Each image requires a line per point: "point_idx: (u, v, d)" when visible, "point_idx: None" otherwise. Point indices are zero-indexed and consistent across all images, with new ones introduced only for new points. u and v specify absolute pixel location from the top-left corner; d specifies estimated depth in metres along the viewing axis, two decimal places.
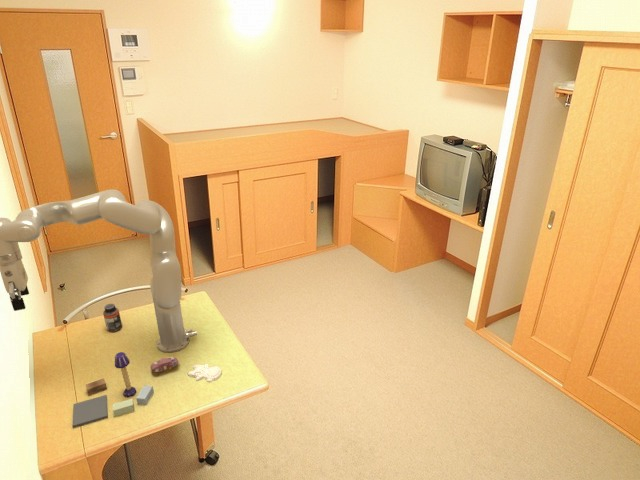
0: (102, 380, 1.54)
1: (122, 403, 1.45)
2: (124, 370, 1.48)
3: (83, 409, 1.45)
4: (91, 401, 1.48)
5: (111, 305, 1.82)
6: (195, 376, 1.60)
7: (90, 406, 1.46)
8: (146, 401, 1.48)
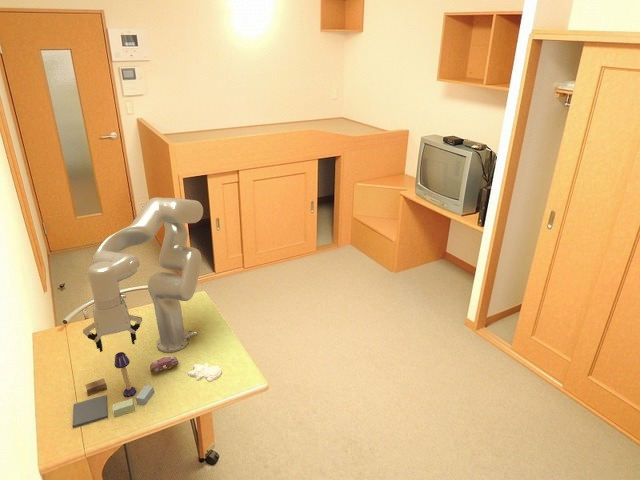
0: (102, 380, 1.54)
1: (122, 403, 1.45)
2: (124, 370, 1.48)
3: (83, 409, 1.45)
4: (91, 401, 1.48)
5: None
6: (195, 376, 1.60)
7: (90, 406, 1.46)
8: (145, 401, 1.48)
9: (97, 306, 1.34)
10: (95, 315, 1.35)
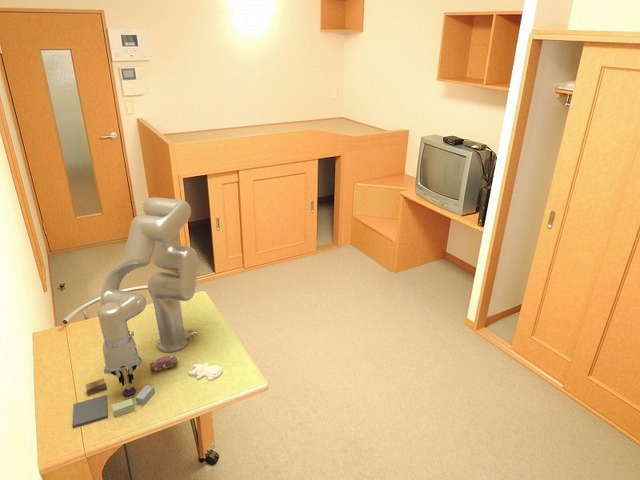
0: (102, 380, 1.54)
1: (122, 403, 1.45)
2: (124, 370, 1.48)
3: (83, 409, 1.45)
4: (91, 401, 1.48)
5: None
6: (196, 375, 1.60)
7: (90, 406, 1.46)
8: (145, 401, 1.48)
9: (107, 345, 1.41)
10: (105, 353, 1.42)
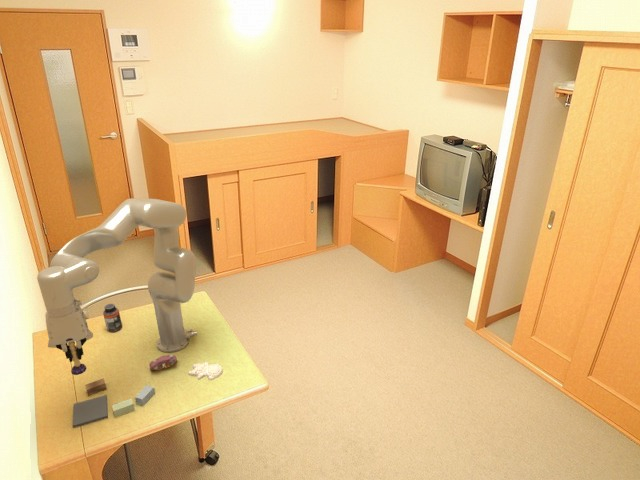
0: (102, 380, 1.54)
1: (122, 403, 1.45)
2: (72, 344, 1.33)
3: (83, 409, 1.45)
4: (91, 401, 1.48)
5: (111, 305, 1.82)
6: (196, 375, 1.60)
7: (90, 406, 1.46)
8: (144, 402, 1.48)
9: (49, 314, 1.25)
10: (47, 323, 1.26)
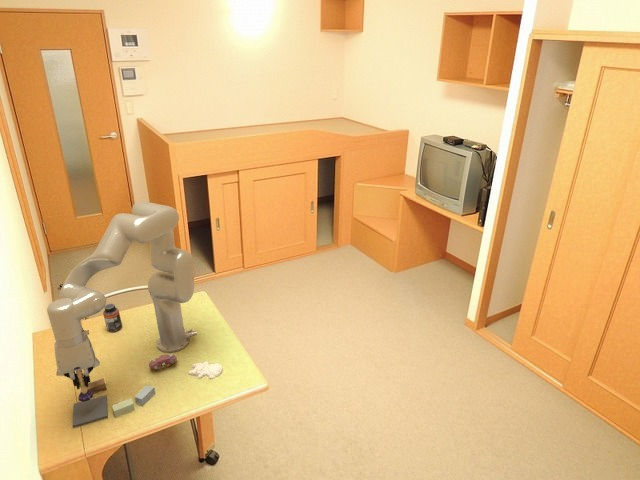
0: (101, 380, 1.54)
1: (122, 403, 1.45)
2: (79, 372, 1.37)
3: (83, 409, 1.45)
4: (91, 401, 1.48)
5: (111, 305, 1.82)
6: (196, 374, 1.61)
7: (90, 406, 1.46)
8: (143, 402, 1.48)
9: (58, 344, 1.30)
10: (56, 353, 1.31)
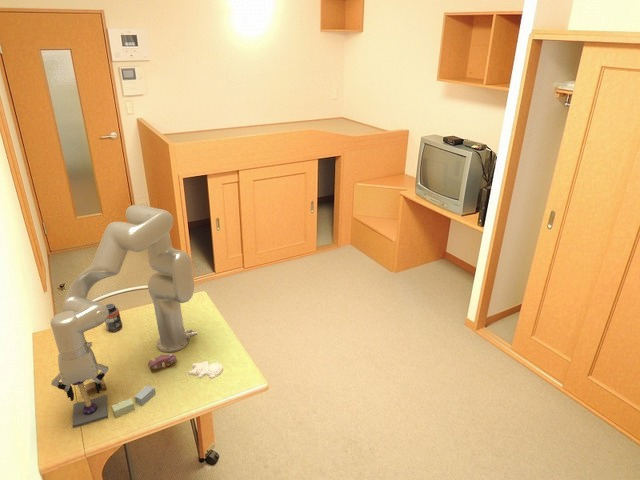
0: (101, 380, 1.54)
1: (122, 403, 1.45)
2: (81, 386, 1.39)
3: None
4: (91, 401, 1.48)
5: (111, 305, 1.82)
6: (197, 374, 1.61)
7: None
8: (143, 402, 1.48)
9: (61, 357, 1.32)
10: (60, 365, 1.33)
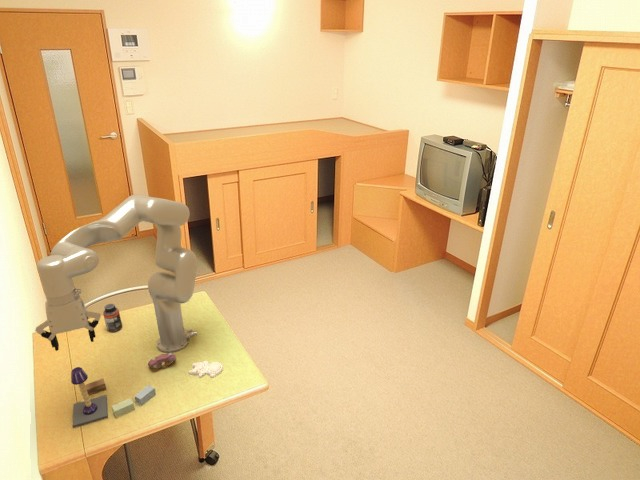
0: (101, 380, 1.54)
1: (122, 403, 1.45)
2: (82, 386, 1.40)
3: None
4: (91, 401, 1.48)
5: (111, 305, 1.82)
6: (197, 373, 1.61)
7: None
8: (142, 402, 1.48)
9: (49, 303, 1.26)
10: (47, 312, 1.27)
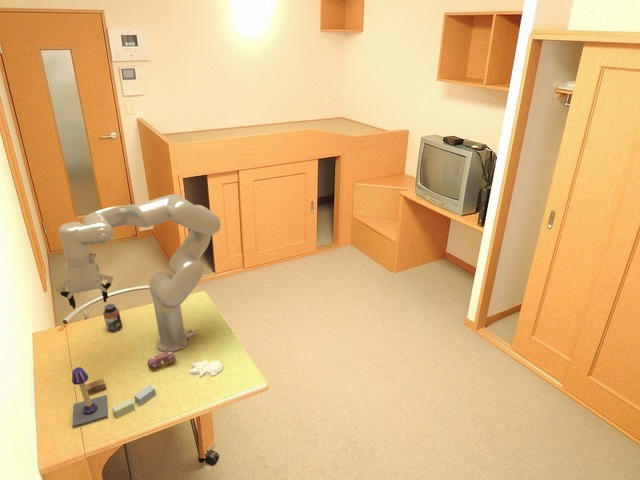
0: (101, 380, 1.54)
1: (122, 403, 1.45)
2: (82, 386, 1.40)
3: None
4: (91, 401, 1.48)
5: (111, 305, 1.82)
6: (197, 373, 1.61)
7: None
8: (142, 402, 1.48)
9: (68, 264, 1.42)
10: (67, 273, 1.43)
